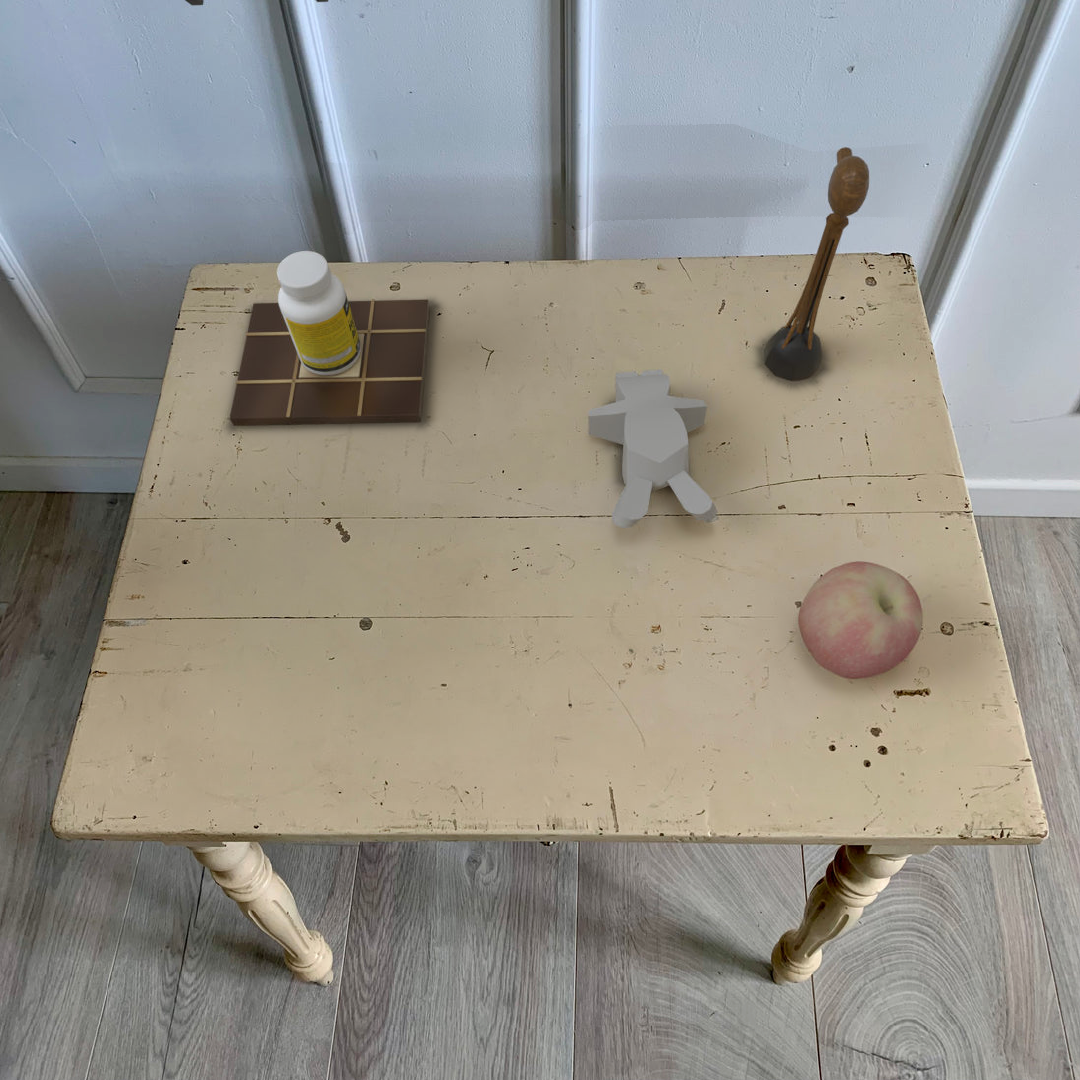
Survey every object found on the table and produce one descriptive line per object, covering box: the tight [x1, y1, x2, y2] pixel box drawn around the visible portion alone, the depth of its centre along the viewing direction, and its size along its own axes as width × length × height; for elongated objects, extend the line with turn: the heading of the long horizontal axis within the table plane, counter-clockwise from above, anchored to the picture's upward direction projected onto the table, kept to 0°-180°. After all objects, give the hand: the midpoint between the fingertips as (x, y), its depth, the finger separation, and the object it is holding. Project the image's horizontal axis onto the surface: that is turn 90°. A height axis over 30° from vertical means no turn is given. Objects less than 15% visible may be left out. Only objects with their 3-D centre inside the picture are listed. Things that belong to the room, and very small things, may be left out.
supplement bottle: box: [276, 250, 361, 375], centre depth 73 cm, size 5×5×10 cm
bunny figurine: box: [587, 368, 718, 529], centre depth 70 cm, size 10×5×15 cm
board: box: [229, 298, 431, 426], centre depth 78 cm, size 16×13×1 cm
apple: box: [797, 560, 924, 680], centre depth 61 cm, size 8×8×8 cm
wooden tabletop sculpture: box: [763, 146, 870, 382], centre depth 68 cm, size 6×5×20 cm
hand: (256, 0), depth 59 cm, fingers open, 8 cm apart
